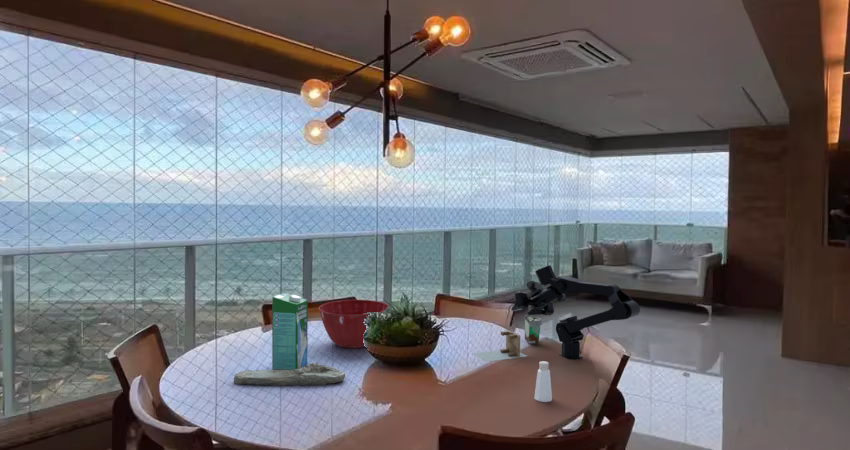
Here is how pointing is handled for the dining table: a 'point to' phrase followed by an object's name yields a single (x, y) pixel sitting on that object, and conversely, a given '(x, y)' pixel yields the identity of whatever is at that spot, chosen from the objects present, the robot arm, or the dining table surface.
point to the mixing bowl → (348, 320)
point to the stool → (511, 343)
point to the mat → (495, 355)
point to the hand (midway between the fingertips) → (520, 311)
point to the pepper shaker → (543, 383)
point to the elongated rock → (292, 376)
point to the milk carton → (289, 331)
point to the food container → (532, 329)
